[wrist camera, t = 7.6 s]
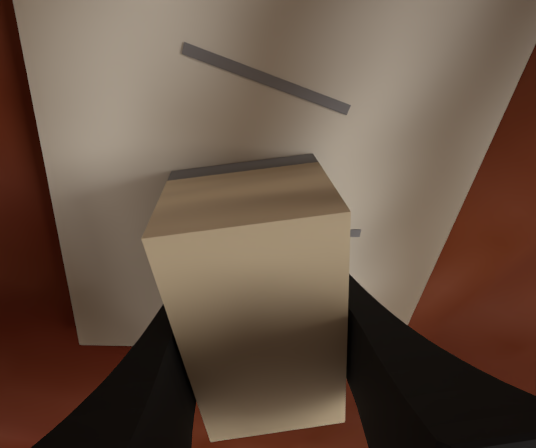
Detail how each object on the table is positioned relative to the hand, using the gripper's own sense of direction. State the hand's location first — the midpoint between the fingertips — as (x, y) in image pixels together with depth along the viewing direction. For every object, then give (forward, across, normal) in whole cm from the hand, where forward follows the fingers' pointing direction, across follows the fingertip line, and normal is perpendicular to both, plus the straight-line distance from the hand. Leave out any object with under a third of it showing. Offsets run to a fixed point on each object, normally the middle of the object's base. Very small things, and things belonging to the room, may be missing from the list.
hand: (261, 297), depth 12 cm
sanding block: (+1, 0, -1) cm, 1 cm away
